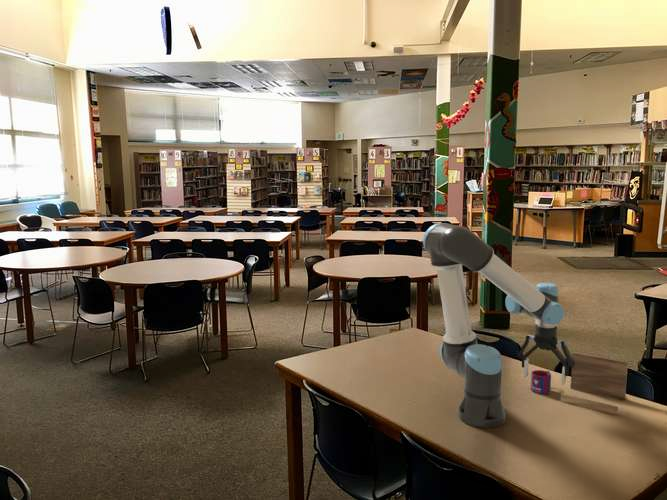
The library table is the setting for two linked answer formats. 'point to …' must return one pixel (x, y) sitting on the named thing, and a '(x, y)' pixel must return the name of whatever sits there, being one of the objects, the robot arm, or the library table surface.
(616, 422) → the library table surface
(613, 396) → the wall board
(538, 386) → the mug
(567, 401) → the cleat ledge
